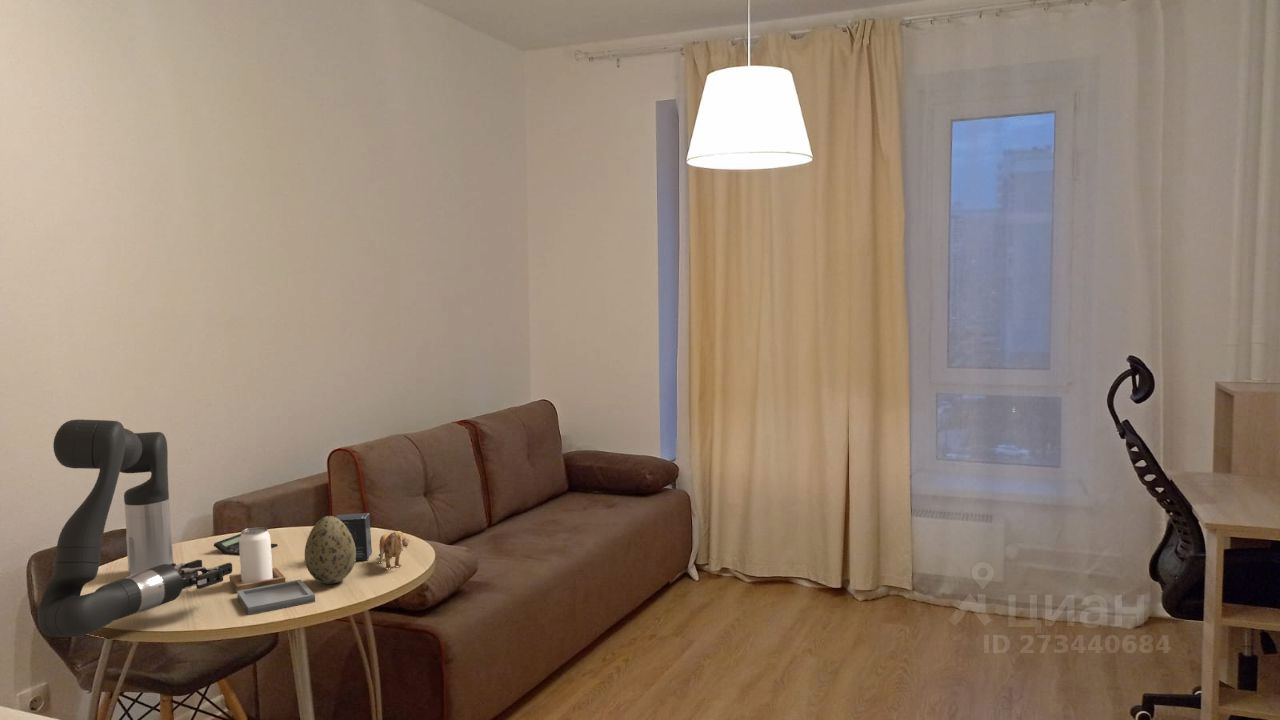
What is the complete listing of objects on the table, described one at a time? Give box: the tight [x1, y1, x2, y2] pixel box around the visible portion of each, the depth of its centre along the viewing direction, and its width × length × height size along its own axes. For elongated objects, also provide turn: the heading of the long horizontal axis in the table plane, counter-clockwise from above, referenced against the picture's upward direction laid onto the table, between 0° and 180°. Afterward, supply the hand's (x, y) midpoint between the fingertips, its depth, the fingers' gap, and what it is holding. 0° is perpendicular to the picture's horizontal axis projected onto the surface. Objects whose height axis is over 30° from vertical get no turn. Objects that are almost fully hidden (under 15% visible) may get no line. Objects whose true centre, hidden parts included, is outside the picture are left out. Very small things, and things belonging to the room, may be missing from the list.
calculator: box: [213, 533, 278, 556], centre depth 234 cm, size 9×12×3 cm
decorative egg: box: [304, 515, 356, 585], centre depth 204 cm, size 11×11×15 cm
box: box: [335, 512, 373, 561], centre depth 223 cm, size 8×6×11 cm
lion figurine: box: [378, 530, 411, 569], centre depth 217 cm, size 15×5×9 cm, turn 37°
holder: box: [228, 566, 286, 593], centre depth 206 cm, size 10×10×2 cm
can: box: [239, 526, 274, 584], centre depth 205 cm, size 6×6×12 cm
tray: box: [236, 579, 316, 616], centre depth 194 cm, size 13×13×2 cm
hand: (215, 565), depth 195 cm, fingers open, 8 cm apart
